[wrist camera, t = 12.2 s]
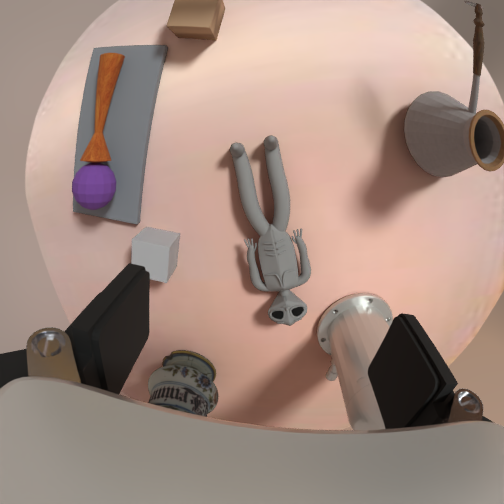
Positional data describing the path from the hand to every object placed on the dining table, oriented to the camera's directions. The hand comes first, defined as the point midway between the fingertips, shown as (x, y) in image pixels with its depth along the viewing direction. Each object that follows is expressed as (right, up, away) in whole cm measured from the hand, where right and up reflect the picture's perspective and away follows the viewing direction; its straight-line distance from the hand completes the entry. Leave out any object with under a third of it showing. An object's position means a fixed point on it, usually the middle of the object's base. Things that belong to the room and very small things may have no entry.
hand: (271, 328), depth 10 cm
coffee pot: (+23, +23, +19) cm, 38 cm away
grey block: (-13, +3, +29) cm, 32 cm away
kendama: (-19, +19, +22) cm, 35 cm away
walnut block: (-7, +31, +17) cm, 36 cm away
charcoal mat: (-19, +19, +23) cm, 35 cm away
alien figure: (+2, +5, +28) cm, 29 cm away
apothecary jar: (-12, -18, +38) cm, 44 cm away
